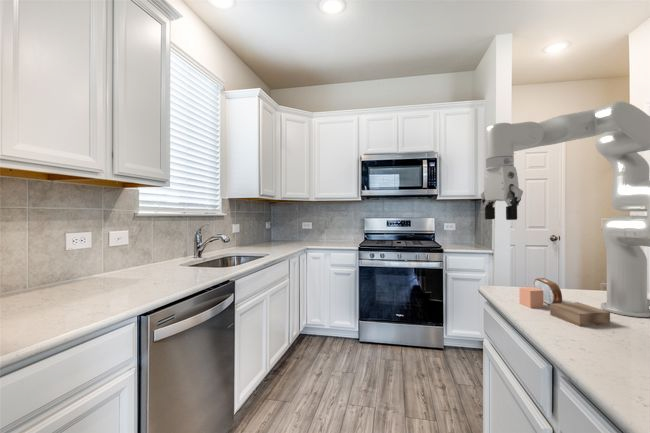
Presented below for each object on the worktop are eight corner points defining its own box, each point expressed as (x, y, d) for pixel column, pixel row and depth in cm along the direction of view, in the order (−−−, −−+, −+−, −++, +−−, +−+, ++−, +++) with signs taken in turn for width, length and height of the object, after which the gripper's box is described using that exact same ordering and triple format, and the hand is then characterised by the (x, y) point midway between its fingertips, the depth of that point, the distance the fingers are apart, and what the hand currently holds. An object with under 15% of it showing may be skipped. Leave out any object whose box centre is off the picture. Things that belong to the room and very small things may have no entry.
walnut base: (577, 314, 100) (577, 302, 99) (610, 325, 90) (610, 312, 90) (550, 316, 98) (550, 303, 98) (579, 327, 88) (579, 313, 88)
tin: (563, 309, 104) (563, 284, 104) (552, 309, 104) (552, 284, 104) (541, 297, 118) (541, 275, 118) (532, 297, 119) (532, 275, 119)
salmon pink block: (532, 303, 111) (531, 286, 111) (543, 307, 106) (543, 290, 106) (519, 304, 111) (519, 287, 111) (530, 308, 106) (530, 290, 106)
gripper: (532, 159, 86) (533, 219, 87) (492, 168, 104) (492, 218, 104) (508, 159, 86) (509, 220, 86) (471, 168, 103) (472, 219, 103)
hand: (500, 219), depth 95 cm, fingers open, 9 cm apart
